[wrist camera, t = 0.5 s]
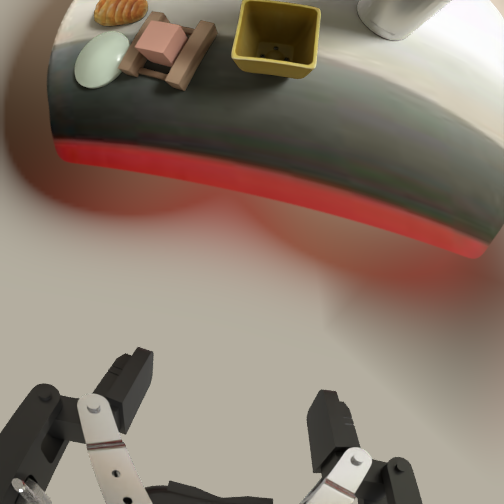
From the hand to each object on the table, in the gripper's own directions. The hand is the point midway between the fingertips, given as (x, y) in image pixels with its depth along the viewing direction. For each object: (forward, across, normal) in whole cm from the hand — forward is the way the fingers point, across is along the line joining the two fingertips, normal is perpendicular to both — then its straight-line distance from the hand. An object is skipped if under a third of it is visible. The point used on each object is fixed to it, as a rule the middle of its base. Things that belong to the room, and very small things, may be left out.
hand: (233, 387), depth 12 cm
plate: (+27, +29, -23) cm, 46 cm away
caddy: (+27, +18, -24) cm, 40 cm away
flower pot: (+27, +3, -25) cm, 37 cm away
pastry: (+28, +30, -32) cm, 52 cm away
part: (+27, +18, -24) cm, 40 cm away
